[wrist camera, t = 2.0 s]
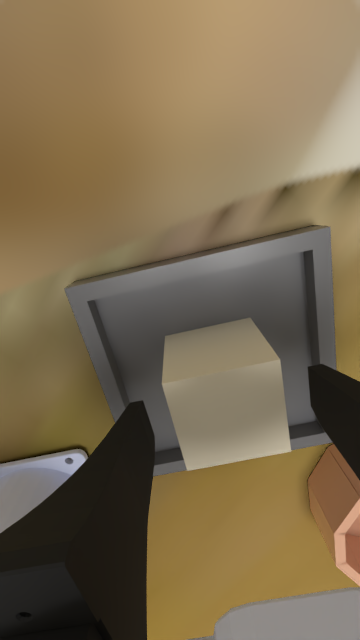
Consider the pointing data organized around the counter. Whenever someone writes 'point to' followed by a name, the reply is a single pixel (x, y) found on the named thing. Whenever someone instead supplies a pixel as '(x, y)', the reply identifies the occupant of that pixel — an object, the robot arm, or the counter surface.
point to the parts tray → (212, 323)
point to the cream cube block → (225, 394)
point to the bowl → (337, 510)
